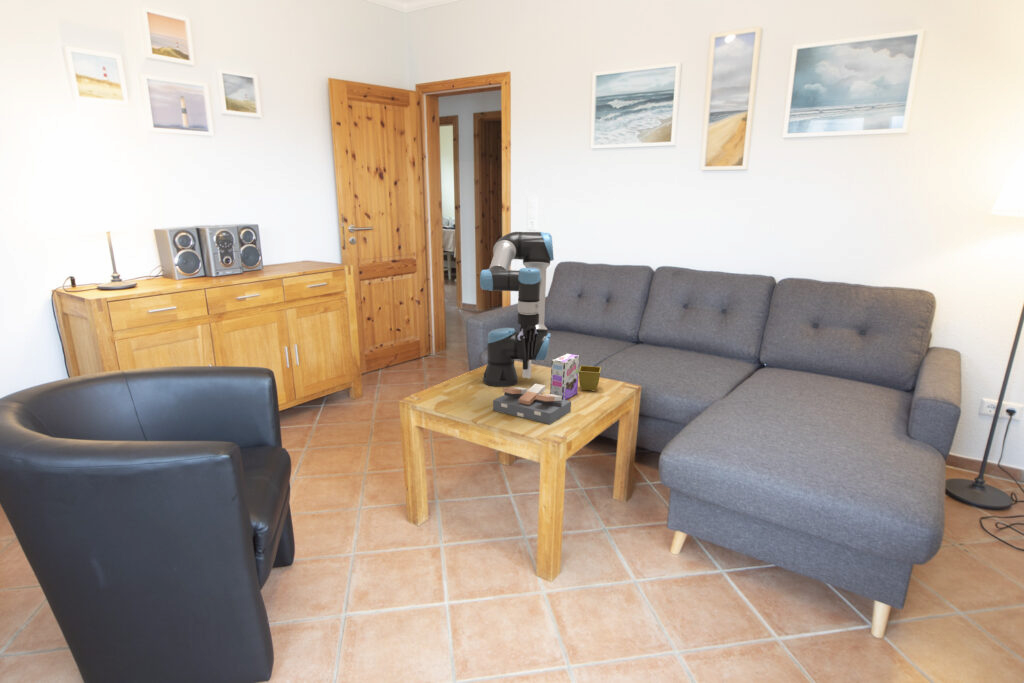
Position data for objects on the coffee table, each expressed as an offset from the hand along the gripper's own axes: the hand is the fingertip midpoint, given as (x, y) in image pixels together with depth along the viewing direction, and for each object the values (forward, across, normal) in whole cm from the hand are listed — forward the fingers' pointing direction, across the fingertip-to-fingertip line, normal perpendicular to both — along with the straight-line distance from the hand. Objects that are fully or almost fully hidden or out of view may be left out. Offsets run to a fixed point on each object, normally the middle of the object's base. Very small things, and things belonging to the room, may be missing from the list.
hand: (526, 377), depth 201 cm
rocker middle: (+8, +4, 0) cm, 9 cm away
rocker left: (+8, +4, +7) cm, 11 cm away
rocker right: (+7, +4, -7) cm, 11 cm away
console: (+14, +4, 0) cm, 15 cm away
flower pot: (+15, +41, -6) cm, 44 cm away
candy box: (+15, +26, -2) cm, 30 cm away
